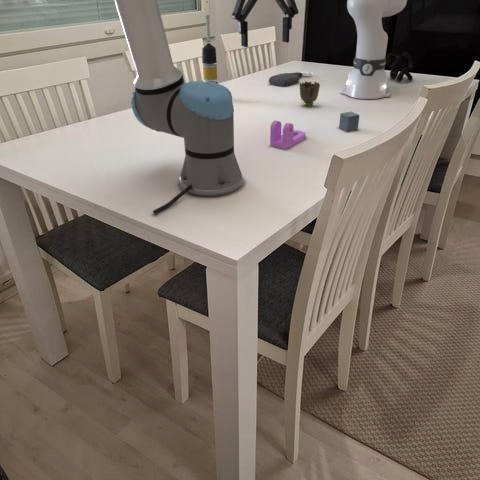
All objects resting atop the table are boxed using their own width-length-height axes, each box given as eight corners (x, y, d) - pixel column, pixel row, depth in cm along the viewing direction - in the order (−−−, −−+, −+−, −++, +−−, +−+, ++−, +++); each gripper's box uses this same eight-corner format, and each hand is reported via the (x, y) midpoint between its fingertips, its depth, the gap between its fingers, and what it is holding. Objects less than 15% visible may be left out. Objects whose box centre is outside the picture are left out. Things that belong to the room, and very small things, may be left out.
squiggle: (400, 92, 202) (376, 71, 205) (417, 76, 202) (392, 56, 205) (405, 81, 191) (380, 59, 194) (423, 64, 191) (397, 42, 194)
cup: (295, 106, 166) (296, 84, 162) (302, 102, 172) (303, 80, 168) (314, 109, 163) (316, 86, 159) (321, 104, 169) (322, 82, 165)
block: (349, 126, 147) (351, 111, 144) (357, 130, 143) (359, 114, 141) (338, 128, 145) (340, 113, 143) (346, 131, 142) (348, 116, 139)
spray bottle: (266, 83, 198) (296, 74, 214) (286, 87, 192) (316, 77, 208) (266, 76, 197) (297, 68, 213) (287, 80, 191) (316, 71, 207)
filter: (220, 99, 177) (217, 15, 161) (206, 100, 176) (202, 16, 160) (215, 96, 182) (212, 14, 166) (202, 97, 180) (197, 14, 164)
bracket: (286, 149, 129) (287, 125, 125) (270, 145, 132) (270, 122, 128) (308, 136, 138) (309, 114, 134) (292, 133, 141) (294, 111, 137)
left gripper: (298, -43, 126) (295, 38, 137) (217, -41, 117) (221, 46, 129) (313, -44, 120) (308, 41, 132) (229, -41, 111) (232, 50, 123)
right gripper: (533, -54, 136) (519, -3, 143) (484, -54, 129) (472, 0, 136) (553, -55, 131) (537, -2, 138) (503, -55, 124) (489, 1, 131)
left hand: (265, 44), depth 130 cm, fingers open, 13 cm apart
